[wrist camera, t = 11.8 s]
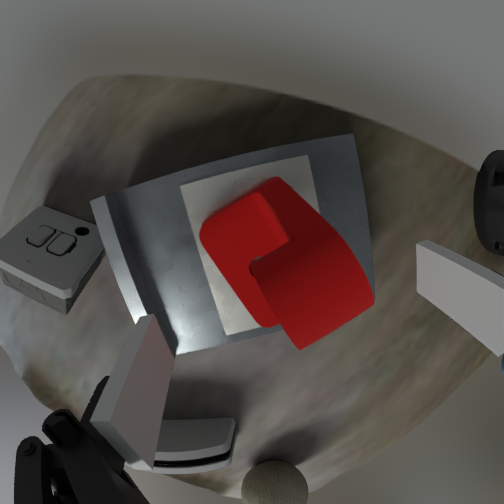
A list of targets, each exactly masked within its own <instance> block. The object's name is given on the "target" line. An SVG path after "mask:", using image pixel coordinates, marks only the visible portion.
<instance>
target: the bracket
mask: <svg viewBox="0 0 504 504" xmlns="http://www.w3.org/2000/svg"><path fill="white" fill-rule="evenodd" d="M199 238H200V241H201V244H202V246H203V247H204V249H205V250H206V252H207V253H208V255H209V256H210V258H211V259H212V261H213V262H214V263H215V265H216V266H217V268H218V269H219V271H220V272H221V274H222V275H223V276H224V278H225V279H226V281H227V282H228V284H229V285H230V286H231V288H232V289H233V291H234V292H235V294H236V295H237V296H238V298H239V299H240V301H241V302H242V303H243V305H244V306H245V308H246V309H247V310H248V312H249V313H250V315H251V316H252V317H253V319H254V320H255V321H256V322H257V323H258V324H259V325H260V326H262V327H265V328H270V327H273V326H276V325H278V324H281V326H282V327H283V329H284V331H285V332H286V334H287V335H288V336H289V338H290V339H291V341H292V342H293V343H294V344H295V346H296V347H297V348H298V349H299V350H302V349H303V348H305V347H307V346H309V345H310V344H312V343H314V342H316V341H317V340H319V339H321V338H322V337H324V336H326V335H327V334H329V333H331V332H332V331H334V330H335V329H337V328H339V327H340V326H342V325H343V324H345V323H347V322H348V321H350V320H351V319H353V318H354V317H356V316H358V315H359V314H361V313H362V312H364V311H365V310H367V309H368V308H370V307H371V306H373V305H374V296H373V292H372V289H371V286H370V283H369V281H368V279H367V277H366V275H365V273H364V271H363V269H362V267H361V265H360V263H359V261H358V260H357V258H356V256H355V255H354V253H353V252H352V250H351V249H350V247H349V246H348V245H347V243H346V242H345V240H344V239H343V238H342V237H341V235H340V234H339V233H338V232H337V231H336V230H335V229H334V228H333V227H332V226H331V225H330V224H329V223H328V222H327V221H326V220H325V219H324V218H323V217H322V216H321V215H320V214H319V213H318V212H317V211H316V210H315V209H314V208H313V207H312V206H311V205H310V204H308V203H307V202H306V201H305V200H304V199H303V198H302V197H301V196H300V195H299V194H298V193H297V192H296V191H295V190H293V189H292V188H291V187H290V186H289V185H288V184H287V183H286V182H285V181H284V180H283V179H281V178H280V177H277V176H274V177H273V178H271V179H269V180H268V181H266V182H264V183H263V184H261V185H259V186H258V187H256V188H254V189H253V190H251V191H249V192H248V193H246V194H244V195H243V196H241V197H239V198H238V199H236V200H235V201H233V202H231V203H230V204H228V205H226V206H225V207H223V208H222V209H220V210H218V211H217V212H215V213H214V214H212V215H211V216H209V217H208V218H207V219H206V220H205V221H204V222H203V223H202V226H201V228H200V232H199ZM259 256H264V257H262V258H260V259H259V260H257V261H255V262H254V263H252V264H250V263H251V261H252V260H253V259H254V258H256V257H259Z"/></svg>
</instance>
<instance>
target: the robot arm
mask: <svg viewBox="0 0 504 504" xmlns="http://www.w3.org/2000/svg"><path fill="white" fill-rule="evenodd" d="M474 218H475V226H476V231H477V234H478V237H479V240H480V242H481V243H482V245H483V246H484V247H485V248H486V249H487V250H488V251H490V252H493V253H495V254H497V255H500V256H504V150H496V151H493V152H492V153H491V154H489V155H488V156H487V158H486V159H485V161H484V163H483V164H482V166H481V169H480V172H479V175H478V178H477V183H476V188H475V196H474ZM416 253H417V292H418V293H419V294H421V295H422V296H423V297H425V298H426V299H427V300H429V301H430V302H431V303H433V304H434V305H435V306H437V307H438V308H439V309H440V310H442V311H443V312H444V313H446V314H447V315H448V316H449V317H451V318H452V319H453V320H455V321H456V322H457V323H458V324H460V325H461V326H462V327H463V328H465V329H466V330H467V331H468V332H469V333H471V334H472V335H473V336H474V337H476V338H477V339H478V340H479V341H480V342H482V343H483V344H484V345H485V346H486V347H487V348H489V349H490V350H491V351H492V352H493V353H494V354H496V355H497V356H498V357H499V356H500V355H502V354H503V353H504V276H503V275H502V276H501V274H499V273H498V272H496V271H494V270H490V269H488V268H486V267H484V266H482V265H480V264H478V263H476V262H474V261H472V260H470V259H468V258H465V257H463V256H461V255H459V254H457V253H455V252H453V251H451V250H449V249H446V248H444V247H442V246H440V245H438V244H435V243H433V242H431V241H429V240H425V241H422V242H419V243H416ZM174 361H175V359H174V357H173V355H172V353H171V351H170V349H169V347H168V344H167V342H166V340H165V338H164V336H163V333H162V331H161V329H160V327H159V324H158V322H157V320H156V317H155V315H154V314H150V315H145V316H141V317H139V319H138V321H137V323H136V325H135V327H134V329H133V330H132V332H131V334H130V336H129V338H128V340H127V342H126V344H125V346H124V348H123V350H122V352H121V354H120V356H119V358H118V360H117V362H116V364H115V367H114V369H113V371H112V373H111V375H110V376H105V377H104V378H103V379H102V380H101V382H100V383H99V384H98V385H97V387H96V389H95V391H94V393H93V394H94V395H92V397H91V399H90V403H88V406H87V408H86V410H85V412H84V414H83V416H82V419H81V421H80V422H79V421H78V420H77V419H76V417H75V416H74V415H73V414H72V412H71V411H70V410H67V409H59V410H57V411H54V412H53V413H51V414H50V415H49V416H48V417H47V418H46V419H45V421H44V423H43V425H42V431H43V432H44V433H45V435H46V436H47V437H48V438H49V439H50V440H51V441H52V442H53V444H48V445H45V444H44V443H43V442H42V441H41V440H40V439H39V438H38V437H36V436H30V437H28V438H26V439H24V440H22V442H21V443H20V445H19V446H18V449H17V453H16V463H15V464H16V465H15V480H14V504H150V503H149V502H148V501H147V499H146V498H145V497H144V495H143V494H142V493H141V491H140V490H139V489H138V487H137V486H136V485H135V483H134V482H133V480H132V479H131V477H130V476H129V474H128V473H127V472H126V471H125V470H124V469H123V468H124V464H125V461H126V462H127V463H128V464H129V465H130V466H131V467H132V468H133V469H137V470H153V465H154V459H155V453H156V448H157V442H158V437H159V432H160V427H161V421H162V416H163V411H164V407H165V402H166V397H167V392H168V388H169V383H170V378H171V374H172V370H173V365H174ZM502 371H503V375H504V355H503V358H502ZM52 489H53V490H54V496H53V493H52Z"/></svg>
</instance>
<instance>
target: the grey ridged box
mask: <svg viewBox="0 0 504 504" xmlns="http://www.w3.org/2000/svg"><path fill="white" fill-rule="evenodd" d="M274 176H277V177H280V178H281V179H283V180H284V181H285V182H286V183H287V184H288V185H289V186H290V187H291V188H292V189H293V190H295V191H296V192H297V193H298V194H299V195H300V196H301V197H302V198H303V199H304V200H305V201H306V202H307V203H308V204H310V205H311V206H312V207H313V208H314V209H315V210H316V211H317V212H318V213H319V214H320V215H321V216H322V217H323V218H324V219H325V220H326V221H327V222H328V223H329V224H330V225H331V226H332V227H333V228H334V229H335V230H336V231H337V232H338V233H339V234H340V235H341V237H342V238H343V239H344V240H345V242H346V243H347V245H348V246H349V247H350V249H351V250H352V252H353V253H354V255H355V256H356V258H357V260H358V261H359V263H360V265H361V267H362V269H363V271H364V273H365V275H366V277H367V279H368V281H369V283H370V286H371V289H372V292H373V296H374V300H375V285H374V270H373V258H372V248H371V238H370V229H369V221H368V213H367V206H366V199H365V193H364V187H363V181H362V175H361V170H360V164H359V159H358V154H357V149H356V144H355V140H354V135H353V133H352V134H345V135H338V136H332V137H326V138H320V139H314V140H308V141H303V142H297V143H292V144H287V145H282V146H277V147H272V148H268V149H263V150H258V151H254V152H250V153H245V154H241V155H237V156H233V157H229V158H225V159H221V160H217V161H214V162H210V163H206V164H203V165H199V166H195V167H192V168H188V169H185V170H182V171H178V172H175V173H172V174H169V175H165V176H162V177H159V178H156V179H153V180H150V181H147V182H144V183H141V184H138V185H135V186H132V187H129V188H126V189H124V190H121V191H118V192H115V193H112V194H108V195H105V196H102V197H99V198H97V199H94V200H92V201H90V204H91V207H92V211H93V214H94V217H95V220H96V224H97V227H98V230H99V233H100V236H101V239H102V242H103V245H104V248H105V250H106V253H107V256H108V259H109V261H110V264H111V267H112V269H113V272H114V275H115V277H116V280H117V282H118V285H119V287H120V290H121V292H122V294H123V297H124V299H125V301H126V304H127V306H128V308H129V311H130V313H131V315H132V317H133V319H134V322H135V324H136V323H137V321H138V319H139V317H141V316H145V315H150V314H154V315H155V317H156V320H157V322H158V324H159V327H160V329H161V331H162V333H163V336H164V338H165V340H166V342H167V344H168V347H169V349H170V351H171V353H172V355H173V357H174V359H175V356H176V354H181V353H186V352H191V351H196V350H201V349H206V348H210V347H215V346H219V345H224V344H228V343H232V342H236V341H240V340H244V339H248V338H252V337H256V336H260V335H264V334H268V333H272V332H275V331H279V330H283V327H282V326H281V324H278V325H276V326H273V327H270V328H265V327H262V326H260V325H259V324H258V323H257V322H256V321H255V320H254V319H253V317H252V316H251V315H250V313H249V312H248V310H247V309H246V308H245V306H244V305H243V303H242V302H241V301H240V299H239V298H238V296H237V295H236V294H235V292H234V291H233V289H232V288H231V286H230V285H229V284H228V282H227V281H226V279H225V278H224V276H223V275H222V274H221V272H220V271H219V269H218V268H217V266H216V265H215V263H214V262H213V261H212V259H211V258H210V256H209V255H208V253H207V252H206V250H205V249H204V247H203V246H202V244H201V241H200V238H199V232H200V228H201V226H202V223H203V222H204V221H205V220H206V219H207V218H208V217H209V216H211V215H212V214H214V213H215V212H217V211H218V210H220V209H222V208H223V207H225V206H226V205H228V204H230V203H231V202H233V201H235V200H236V199H238V198H239V197H241V196H243V195H244V194H246V193H248V192H249V191H251V190H253V189H254V188H256V187H258V186H259V185H261V184H263V183H264V182H266V181H268V180H269V179H271V178H273V177H274ZM262 257H264V256H259V257H256V258H254V259H253V260H252V261H251V263H250V264H252V263H254V262H255V261H257V260H259V259H260V258H262ZM173 366H174V365H173Z"/></svg>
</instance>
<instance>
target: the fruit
mask: <svg viewBox="0 0 504 504" xmlns="http://www.w3.org/2000/svg"><path fill="white" fill-rule="evenodd" d="M241 495H242V500H243V503H244V504H306V502H307V499H308V486H307V482H306V480H305V478H304V476H303V475H302V473H301V472H300V471H299V470H298V469H297V468H296V467H294V466H293V465H291V464H289V463H287V462H284V461H278V460H272V461H267V462H264V463H261V464H259V465H257V466H255V467H253V468H252V469H251V470H250V471H249V472H248V473H247V474H246V476H245V478H244V480H243V483H242V488H241Z"/></svg>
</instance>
